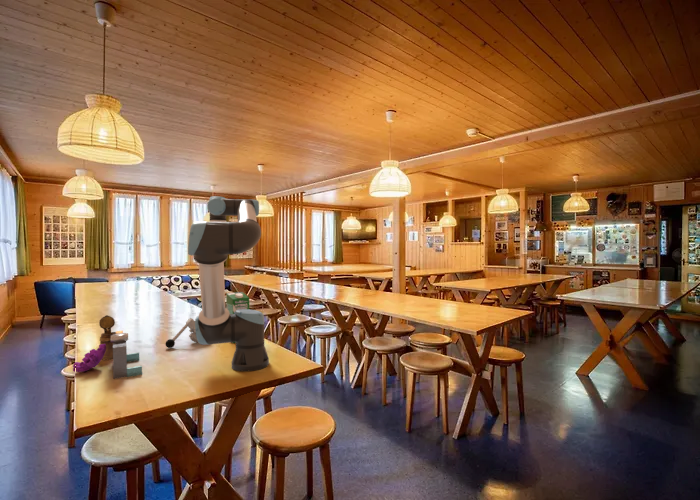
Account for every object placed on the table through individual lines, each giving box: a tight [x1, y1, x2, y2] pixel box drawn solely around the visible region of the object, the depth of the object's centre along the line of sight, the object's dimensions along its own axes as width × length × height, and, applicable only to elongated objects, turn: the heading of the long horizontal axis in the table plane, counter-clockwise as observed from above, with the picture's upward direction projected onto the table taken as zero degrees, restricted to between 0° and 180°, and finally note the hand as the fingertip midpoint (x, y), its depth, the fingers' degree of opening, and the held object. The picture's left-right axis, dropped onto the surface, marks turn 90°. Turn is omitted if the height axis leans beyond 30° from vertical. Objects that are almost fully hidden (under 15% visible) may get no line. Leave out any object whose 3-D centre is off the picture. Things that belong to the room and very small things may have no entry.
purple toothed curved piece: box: [72, 344, 106, 373], centre depth 147 cm, size 11×15×10 cm
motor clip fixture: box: [111, 330, 143, 380], centre depth 148 cm, size 22×10×14 cm, turn 33°
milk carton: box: [225, 291, 250, 344], centre depth 192 cm, size 9×9×25 cm
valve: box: [165, 317, 200, 349], centre depth 183 cm, size 10×18×15 cm
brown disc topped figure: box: [99, 315, 116, 361], centre depth 165 cm, size 9×14×18 cm, turn 40°
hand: (218, 279), depth 172 cm, fingers closed
